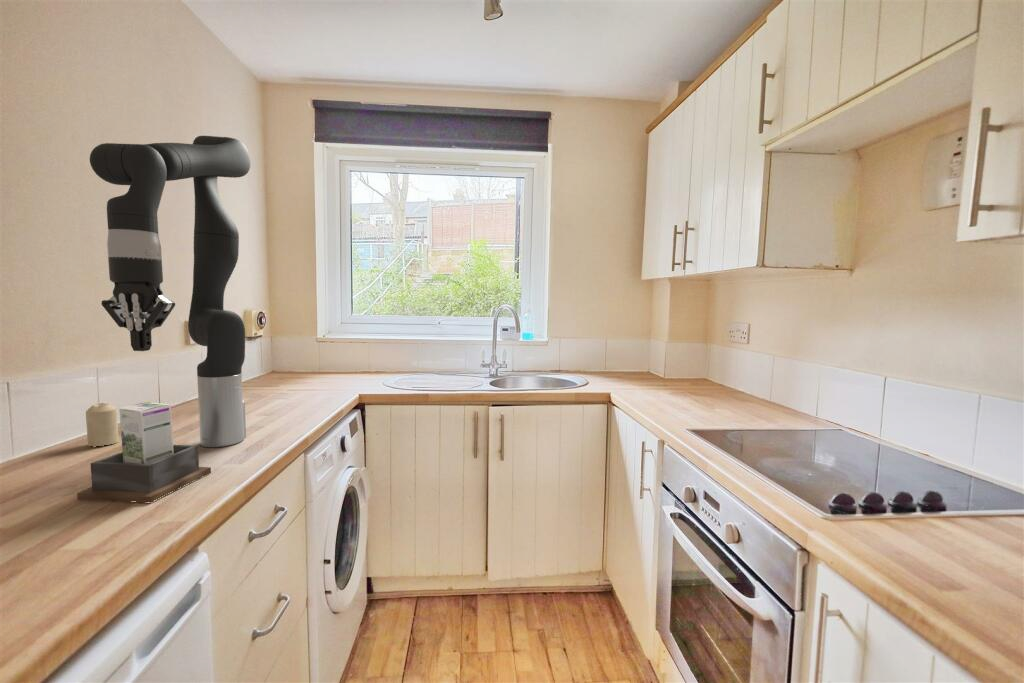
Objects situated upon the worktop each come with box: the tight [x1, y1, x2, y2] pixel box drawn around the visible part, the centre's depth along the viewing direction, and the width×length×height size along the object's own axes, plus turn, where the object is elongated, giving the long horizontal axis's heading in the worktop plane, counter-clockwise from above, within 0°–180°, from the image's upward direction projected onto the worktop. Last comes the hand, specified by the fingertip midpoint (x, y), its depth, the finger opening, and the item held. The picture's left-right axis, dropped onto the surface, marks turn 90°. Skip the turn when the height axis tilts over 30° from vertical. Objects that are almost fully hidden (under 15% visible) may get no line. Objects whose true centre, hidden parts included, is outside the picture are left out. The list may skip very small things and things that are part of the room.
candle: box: [85, 402, 119, 447], centre depth 108 cm, size 6×6×10 cm
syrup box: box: [119, 401, 174, 464], centre depth 84 cm, size 6×6×14 cm
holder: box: [76, 444, 212, 503], centre depth 85 cm, size 14×14×6 cm
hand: (141, 350), depth 82 cm, fingers closed
